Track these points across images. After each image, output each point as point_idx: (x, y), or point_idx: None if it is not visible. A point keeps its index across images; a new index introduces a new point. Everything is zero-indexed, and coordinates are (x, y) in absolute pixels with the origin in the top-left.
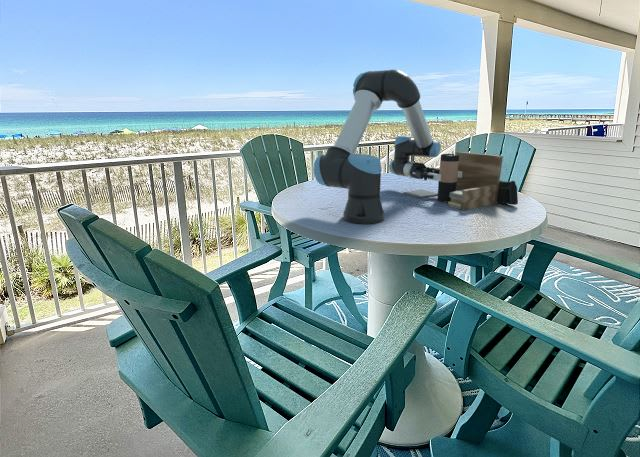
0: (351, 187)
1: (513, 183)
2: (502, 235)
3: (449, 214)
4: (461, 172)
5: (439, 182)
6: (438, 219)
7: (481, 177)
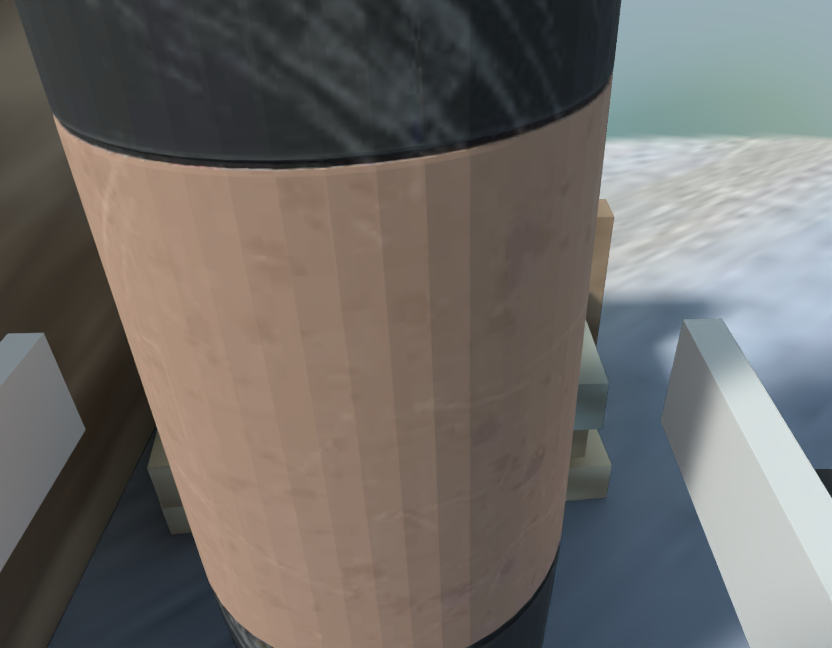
0: None
1: None
2: (717, 144)
3: (776, 343)
4: (40, 344)
5: (554, 564)
6: None
7: (37, 249)
